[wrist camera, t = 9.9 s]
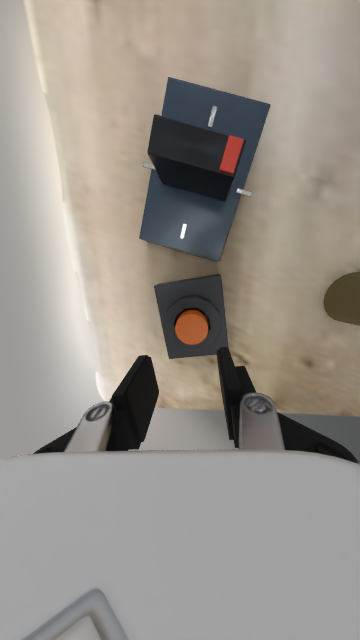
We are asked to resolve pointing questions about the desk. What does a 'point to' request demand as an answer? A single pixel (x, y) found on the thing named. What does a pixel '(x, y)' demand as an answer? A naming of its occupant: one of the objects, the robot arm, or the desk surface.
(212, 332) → the button box
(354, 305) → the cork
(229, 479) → the robot arm
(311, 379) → the desk surface
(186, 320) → the button
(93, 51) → the desk surface
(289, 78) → the desk surface
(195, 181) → the black box red end
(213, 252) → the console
